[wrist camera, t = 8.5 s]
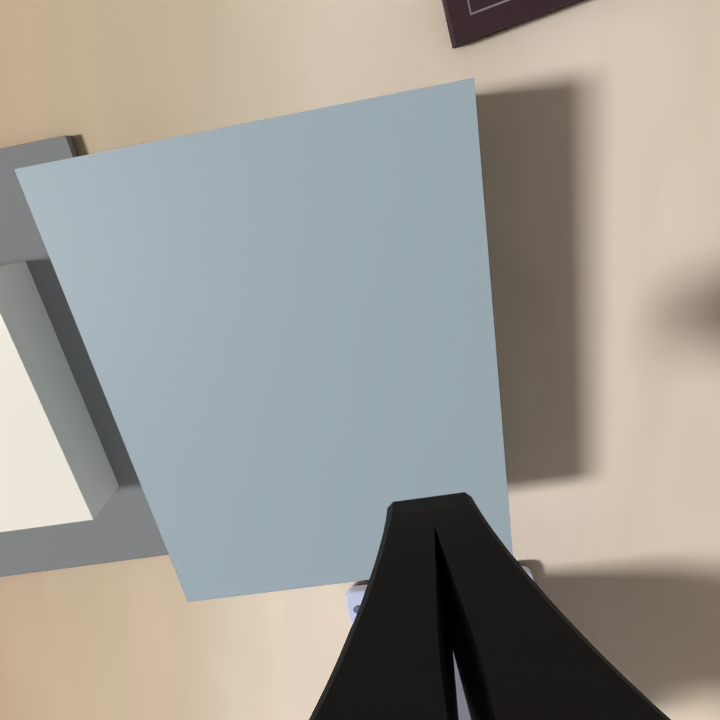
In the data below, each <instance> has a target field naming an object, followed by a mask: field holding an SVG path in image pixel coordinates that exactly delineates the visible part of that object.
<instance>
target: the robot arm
mask: <svg viewBox="0 0 720 720" xmlns="http://www.w3.org/2000/svg"><path fill="white" fill-rule="evenodd" d="M346 604H347V608H348V612H349V616H350V620H351V624H352V627H351V629H350V632H349V634H348V637H347V639H346V641H345V644H344V646H343V649H342V651H341V653H340V656H339V658H338V661H337V663H336V665H335V667H334V669H333V672H332V674H331V676H330V678H329V680H328V682H327V684H326V687H325V689H324V691H323V693H322V695H321V697H320V699H319V701H318V703H317V705H316V707H315V709H314V711H313V713H312V715H311V717H310V719H309V720H671V719H669V718H668V717H667V716H666V715H665V714H664V713H663V712H662V711H660V710H659V709H658V708H657V707H656V706H655V705H654V704H653V703H652V702H651V701H650V700H649V699H648V698H646V697H645V696H644V695H643V694H642V693H641V692H640V691H639V690H638V689H637V688H636V687H635V686H634V685H633V684H632V683H630V682H629V681H628V680H627V679H626V678H625V677H624V676H623V675H622V674H621V673H620V672H619V671H618V670H617V669H616V668H615V667H614V666H613V665H612V664H611V663H610V662H609V661H608V660H607V659H606V658H605V657H604V656H603V655H602V654H601V653H600V652H599V651H598V650H597V649H596V648H595V647H594V646H593V645H592V644H591V643H590V642H589V641H588V640H587V639H586V638H585V637H584V636H583V635H582V634H581V633H580V632H579V631H578V630H577V628H576V627H575V626H574V625H573V624H572V623H571V622H570V621H569V620H568V619H567V618H566V617H565V616H564V615H563V614H562V613H561V612H560V610H559V609H558V608H557V607H556V606H555V605H554V604H553V603H552V601H551V600H550V599H549V598H548V597H547V596H546V595H545V594H544V593H543V591H542V590H541V589H540V588H539V587H538V585H537V584H536V583H535V582H534V578H533V575H532V573H531V570H530V569H529V568H528V567H526V566H521V565H520V564H519V563H518V562H517V561H516V559H515V558H514V557H513V555H512V554H511V553H510V552H509V550H508V549H507V548H506V547H505V545H504V544H503V543H502V541H501V540H500V539H499V537H498V536H497V535H496V533H495V532H494V531H493V529H492V528H491V526H490V525H489V524H488V522H487V521H486V519H485V518H484V516H483V515H482V513H481V512H480V510H479V508H478V507H477V505H476V504H475V502H474V500H473V498H472V497H471V496H470V495H468V494H467V493H465V492H461V493H454V494H447V495H439V496H432V497H425V498H417V499H410V500H402V501H395V502H392V503H391V505H390V506H389V507H388V508H387V515H386V521H385V526H384V531H383V535H382V539H381V543H380V547H379V550H378V554H377V557H376V561H375V564H374V567H373V570H372V573H371V576H370V579H369V582H368V584H366V585H358V586H353V587H351V588H349V589H348V590H347V592H346ZM357 605H360V607H359V606H357Z"/></svg>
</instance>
